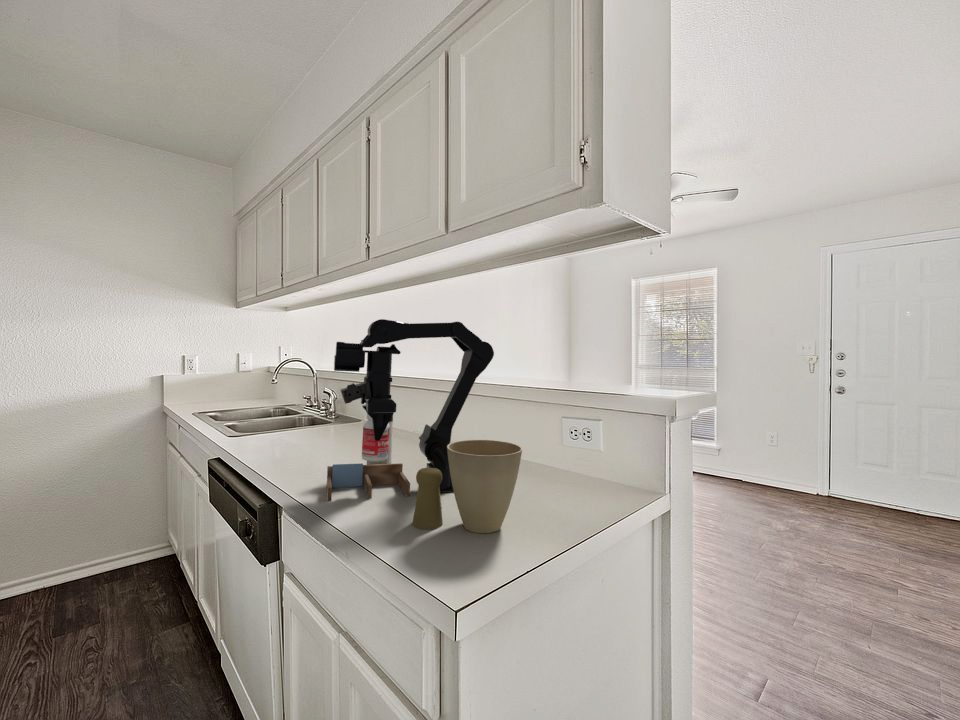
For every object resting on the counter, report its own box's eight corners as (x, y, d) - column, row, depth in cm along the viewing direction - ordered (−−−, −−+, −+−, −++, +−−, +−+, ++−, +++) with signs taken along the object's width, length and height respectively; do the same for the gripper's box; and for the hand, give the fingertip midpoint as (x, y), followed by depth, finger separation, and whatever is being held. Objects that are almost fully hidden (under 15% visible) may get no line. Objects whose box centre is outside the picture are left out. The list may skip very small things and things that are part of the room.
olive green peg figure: (437, 531, 88) (439, 473, 88) (407, 527, 89) (409, 470, 89) (446, 520, 94) (448, 466, 94) (418, 516, 95) (420, 463, 95)
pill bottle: (379, 463, 106) (381, 415, 106) (356, 460, 108) (358, 412, 108) (392, 457, 112) (394, 412, 112) (370, 455, 114) (372, 410, 114)
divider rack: (401, 482, 120) (402, 461, 120) (409, 496, 109) (410, 472, 109) (326, 486, 114) (327, 463, 113) (327, 501, 103) (328, 476, 103)
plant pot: (459, 509, 101) (462, 437, 101) (526, 519, 96) (529, 443, 96) (431, 534, 87) (434, 449, 86) (508, 547, 82) (512, 458, 82)
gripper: (341, 369, 116) (338, 431, 116) (345, 373, 98) (342, 446, 98) (386, 371, 119) (383, 431, 120) (398, 375, 102) (394, 445, 102)
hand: (375, 437), depth 110 cm, fingers closed on pill bottle, 6 cm apart
